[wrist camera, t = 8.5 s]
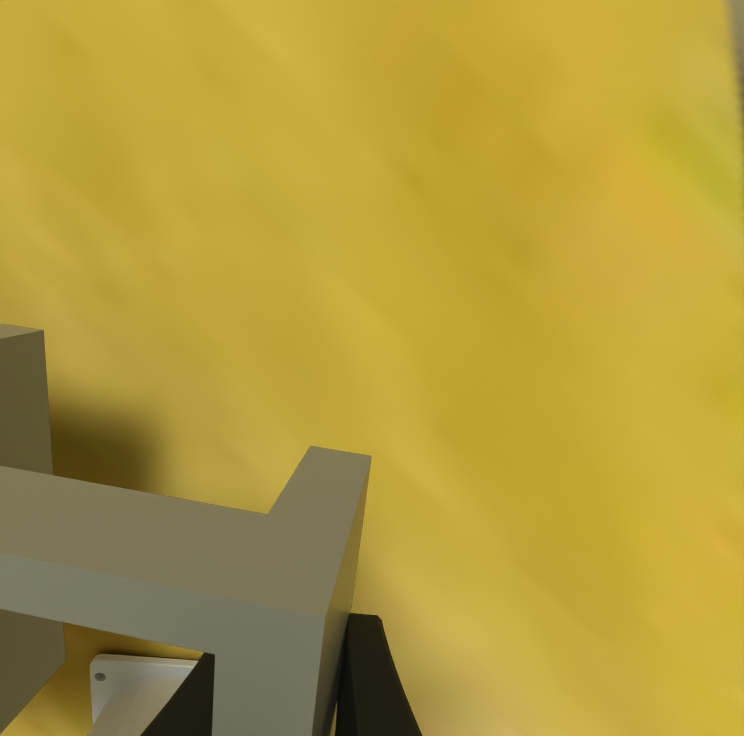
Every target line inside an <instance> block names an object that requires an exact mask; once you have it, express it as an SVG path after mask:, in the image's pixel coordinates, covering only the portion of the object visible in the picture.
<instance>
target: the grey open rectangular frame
mask: <svg viewBox="0 0 744 736" xmlns="http://www.w3.org/2000/svg"><path fill="white" fill-rule="evenodd" d="M371 457H372V456H369V455H363V454H357V453H351V452H345V451H339V450H333V449H327V448H321V447H315V446H310V447H309V449H308V450H307V452H306V454H305V455H304V457H303V459H302V460H301V462H300V463H299V465H298V467H297V468H296V470H295V471H294V473H293V475H292V476H291V478H290V480H289V481H288V483H287V484H286V486H285V488H284V489H283V491H282V492H281V494H280V496H279V497H278V499H277V501H276V502H275V504H274V505H273V507H272V509H271V510H270V512H269V513H268V514H262V513H257V512H251V511H246V510H240V509H235V508H229V507H224V506H219V505H213V504H208V503H202V502H197V501H191V500H186V499H180V498H175V497H169V496H164V495H158V494H153V493H147V492H142V491H136V490H131V489H125V488H120V487H114V486H109V485H103V484H98V483H92V482H87V481H81V480H76V479H71V478H65V477H60V476H54V475H53V464H52V449H51V434H50V419H49V404H48V389H47V374H46V359H45V345H44V330H40V329H33V328H27V327H20V326H13V325H7V324H0V734H1V733H2V732H3V730H4V729H5V728H6V727H7V726H8V725H9V724H10V723H11V722H12V720H13V719H14V718H15V717H16V716H17V715H18V714H19V713H20V711H21V710H22V709H23V708H24V707H25V706H26V705H27V704H28V702H29V701H30V700H31V699H32V698H33V697H34V696H35V695H36V693H37V692H38V691H39V690H40V689H41V688H42V687H43V686H44V685H45V683H46V682H47V681H48V680H49V679H50V678H51V677H52V676H53V674H54V673H55V672H56V671H57V670H58V669H59V668H60V667H61V665H62V664H63V663H64V662H65V661H66V658H65V643H64V628H63V622H65V623H70V624H74V625H79V626H84V627H88V628H93V629H98V630H102V631H107V632H112V633H117V634H121V635H126V636H131V637H135V638H140V639H145V640H149V641H154V642H159V643H164V644H168V645H173V646H178V647H182V648H187V649H192V650H197V651H201V652H206V653H211V654H215V670H214V695H213V721H212V736H335V728H336V713H337V699H338V692H339V684H340V676H341V669H342V661H343V654H344V646H345V638H346V631H347V623H348V617H349V613H351V607H352V600H353V592H354V585H355V577H356V570H357V562H358V555H359V547H360V540H361V532H362V524H363V517H364V509H365V502H366V494H367V487H368V479H369V472H370V464H371Z"/></svg>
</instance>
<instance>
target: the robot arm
mask: <svg viewBox="0 0 744 736" xmlns="http://www.w3.org/2000/svg"><path fill="white" fill-rule="evenodd" d="M214 670H215V654H211V653H206V652H205V653H204V654H203V655H202V657H201V658H200V660H199V661H197V660H183V659H169V658H155V657H141V656H127V655H113V654H99V655H97V656H95V657H94V659H93V660H92V662H91V663H90V686H91V705H92V724H93V726H92V728H91V730H90V731H89V733H88V735H87V736H212V721H213V695H214ZM335 736H422V734H421V732H420V729H419V727H418V725H417V722H416V720H415V717H414V715H413V712H412V710H411V707H410V705H409V702H408V700H407V698H406V695H405V693H404V690H403V687H402V685H401V682H400V679H399V676H398V673H397V671H396V668H395V665H394V662H393V659H392V656H391V653H390V650H389V646H388V643H387V640H386V636H385V632H384V628H383V624H382V620H381V619H380V618H379V617H378V616H377V615H366V614H354V613H349V617H348V623H347V631H346V638H345V646H344V654H343V661H342V669H341V676H340V684H339V692H338V699H337V713H336V728H335Z"/></svg>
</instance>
